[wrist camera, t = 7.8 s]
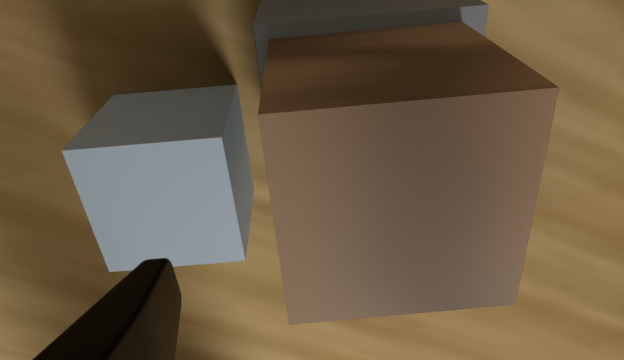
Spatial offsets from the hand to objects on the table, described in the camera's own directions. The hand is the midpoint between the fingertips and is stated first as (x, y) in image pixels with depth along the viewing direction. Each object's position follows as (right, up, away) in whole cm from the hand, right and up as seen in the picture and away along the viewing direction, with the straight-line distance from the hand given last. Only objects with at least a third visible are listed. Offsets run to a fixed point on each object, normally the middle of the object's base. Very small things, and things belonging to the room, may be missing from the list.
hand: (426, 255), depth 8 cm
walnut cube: (0, +3, +5) cm, 6 cm away
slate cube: (-7, +3, +12) cm, 14 cm away
